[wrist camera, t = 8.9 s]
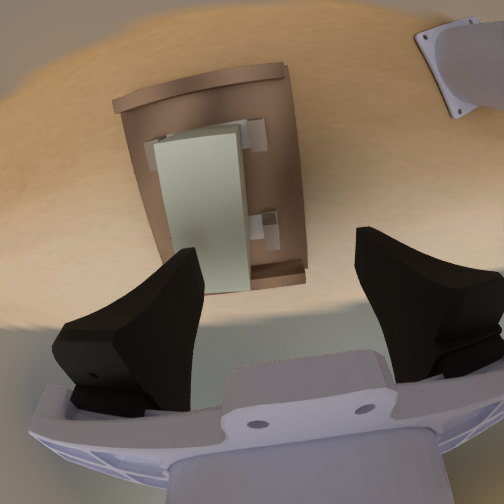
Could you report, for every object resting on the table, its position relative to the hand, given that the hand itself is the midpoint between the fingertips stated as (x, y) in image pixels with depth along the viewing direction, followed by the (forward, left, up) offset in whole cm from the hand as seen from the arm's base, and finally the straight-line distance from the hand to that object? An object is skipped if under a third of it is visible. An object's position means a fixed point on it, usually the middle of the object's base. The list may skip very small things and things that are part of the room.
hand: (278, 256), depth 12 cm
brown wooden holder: (+3, -2, -10) cm, 11 cm away
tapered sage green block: (+3, -2, -9) cm, 9 cm away
